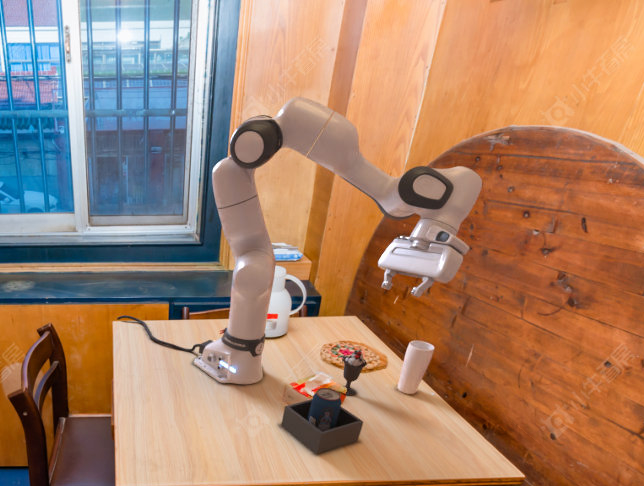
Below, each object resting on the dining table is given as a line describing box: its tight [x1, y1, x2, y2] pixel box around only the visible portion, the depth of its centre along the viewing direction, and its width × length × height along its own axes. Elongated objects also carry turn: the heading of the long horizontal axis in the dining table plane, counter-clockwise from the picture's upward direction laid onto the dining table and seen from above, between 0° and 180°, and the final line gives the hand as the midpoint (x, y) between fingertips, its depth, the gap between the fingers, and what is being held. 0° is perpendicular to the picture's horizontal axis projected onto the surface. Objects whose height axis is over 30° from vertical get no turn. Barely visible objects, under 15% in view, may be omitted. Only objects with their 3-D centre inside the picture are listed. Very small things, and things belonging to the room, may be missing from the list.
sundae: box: [341, 348, 368, 396], centre depth 148 cm, size 7×7×15 cm
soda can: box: [307, 387, 343, 432], centre depth 130 cm, size 7×7×12 cm
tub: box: [280, 398, 364, 455], centre depth 132 cm, size 14×14×6 cm
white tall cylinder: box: [397, 340, 435, 395], centre depth 150 cm, size 7×7×15 cm
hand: (399, 292), depth 124 cm, fingers open, 8 cm apart
